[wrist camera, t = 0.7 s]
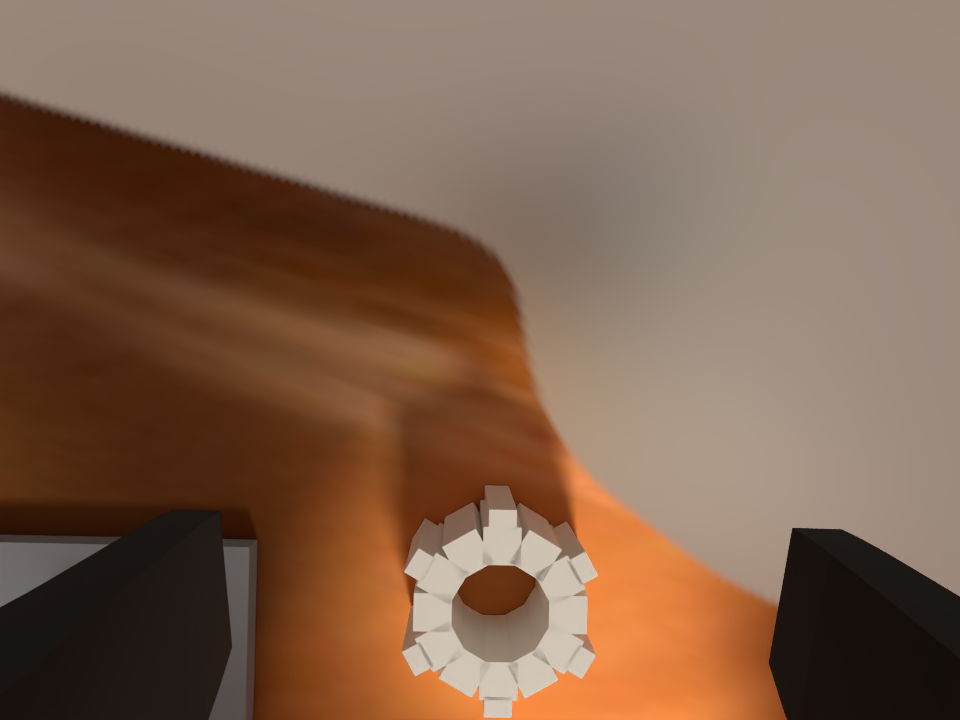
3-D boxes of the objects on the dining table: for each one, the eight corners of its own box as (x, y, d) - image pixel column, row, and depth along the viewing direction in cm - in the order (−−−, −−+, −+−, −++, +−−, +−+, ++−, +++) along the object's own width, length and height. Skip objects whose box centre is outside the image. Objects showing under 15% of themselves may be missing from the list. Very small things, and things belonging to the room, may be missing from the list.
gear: (574, 663, 26) (594, 718, 22) (409, 660, 26) (400, 716, 22) (579, 487, 26) (600, 511, 22) (413, 483, 26) (405, 507, 22)
